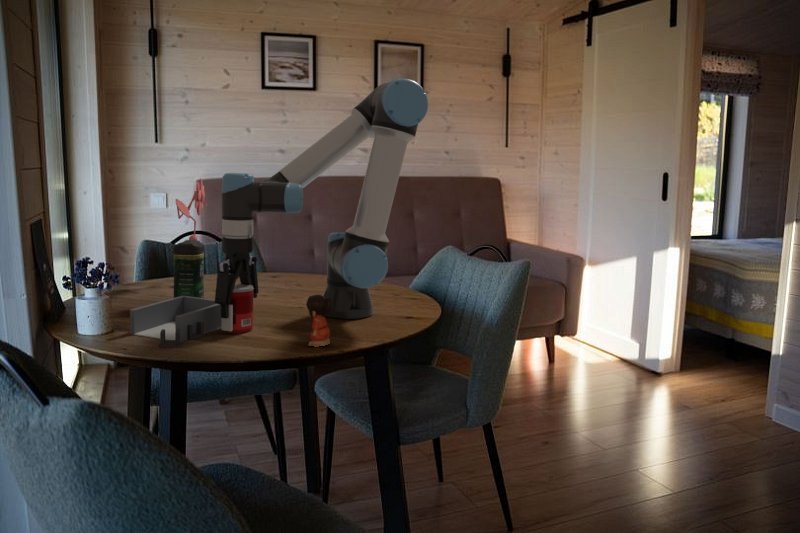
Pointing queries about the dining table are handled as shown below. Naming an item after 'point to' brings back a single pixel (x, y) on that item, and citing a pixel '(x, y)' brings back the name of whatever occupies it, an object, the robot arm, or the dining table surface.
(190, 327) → the clip
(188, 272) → the coffee jar
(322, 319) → the figurine
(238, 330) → the canned food
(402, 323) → the dining table surface
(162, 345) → the clip
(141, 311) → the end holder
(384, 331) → the dining table surface
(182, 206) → the pink flower
